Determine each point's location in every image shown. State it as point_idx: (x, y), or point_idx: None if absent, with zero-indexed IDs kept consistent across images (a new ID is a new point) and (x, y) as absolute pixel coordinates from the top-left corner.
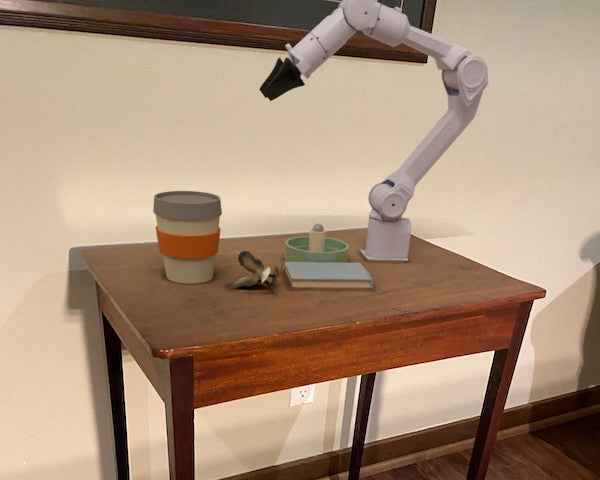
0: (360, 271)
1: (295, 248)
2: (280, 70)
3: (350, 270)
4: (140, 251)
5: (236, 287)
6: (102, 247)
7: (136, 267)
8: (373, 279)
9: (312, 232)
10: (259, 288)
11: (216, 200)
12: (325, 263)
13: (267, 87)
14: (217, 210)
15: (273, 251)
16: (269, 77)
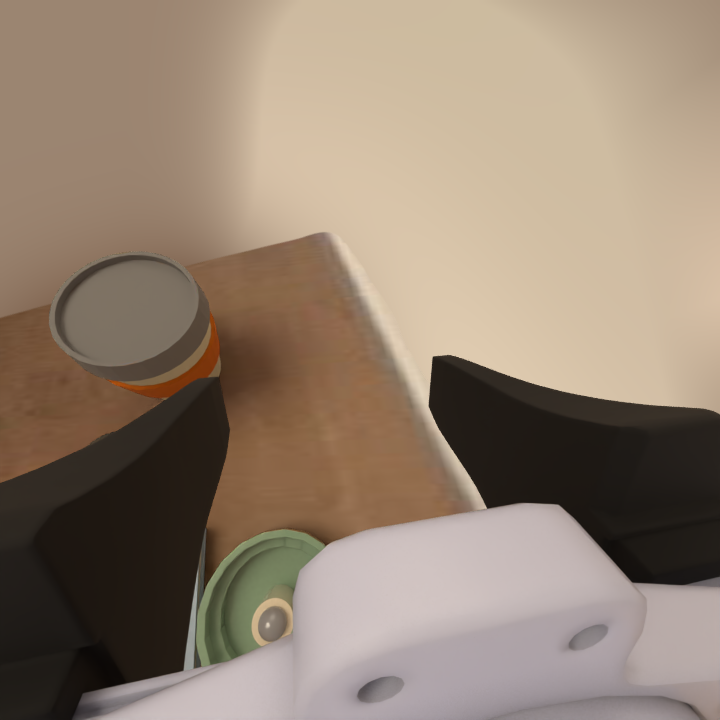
0: None
1: (232, 555)
2: (60, 462)
3: None
4: (315, 295)
5: (91, 442)
6: (327, 251)
7: (232, 298)
8: None
9: (259, 605)
10: None
11: (85, 359)
12: None
13: (180, 389)
14: (88, 369)
15: (350, 505)
16: (481, 388)
